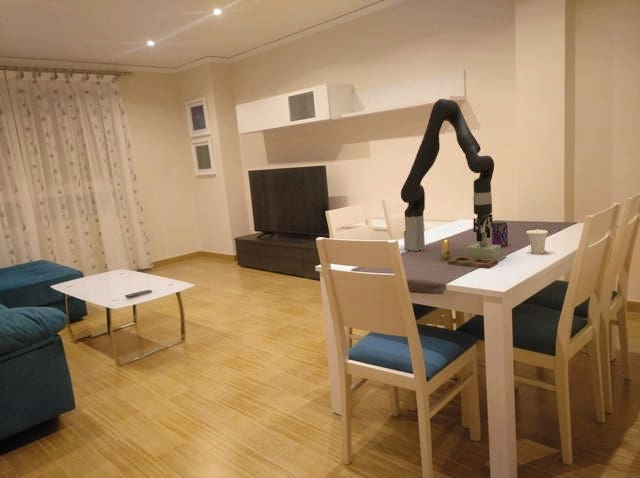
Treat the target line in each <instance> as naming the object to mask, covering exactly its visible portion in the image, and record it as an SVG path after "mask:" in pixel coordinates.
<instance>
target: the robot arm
mask: <svg viewBox="0 0 640 478" xmlns="http://www.w3.org/2000/svg"><path fill="white" fill-rule="evenodd" d="M444 122H448V123H449V124H450V125H451V126H452V127H453V129H454V131H455V135H456V137H455V138H456V142H457V145H459V147H460V149H461V151H462V152H463V153H464V154H463V155H464V156H465V159H466V164H467V166H468V169H469V170H470V171H471V172H472V173H474V174H479V177H477V178H475V179H474V181H473V198H472V199H473V214H474V215H476V216H477V217H476V218H475V217H474V218H473V220H472V222H473V224H472V225H473V230H472V231H473V233H476V242H477V243H480V242H481V241H482V232H483V230H484V232H486V233H487V239H490V238H492V233H491V230H492V227H493V222H494V220H493V199H492V184H491V183H492V179H493V173H494V170H495V162H494V159H493V157H492V156H490V155H479V153H480V151H481V146H480V144H479V142H478V140H477V139H476V138H475V136H474V135H473V132H471V130H470V128H469V126H468V124H467V121H466V120H465V117H464V115H463V112H462V110H461V107H460V105H459V104H458V102H457V101H455V100H453V99H452V100H451V99H445V98H440V99H437V100H436V101H435V103H434V104H433V106H432V108H431V112H430V115H429V118H428V123H427V127H426V129H425V131H424V132H425V133H424V135H423V137H422V140H421V142H420V146H419V147H418V150H417V152H416V155H415V159H414V161H413V163H412V166H411V168H410V171H409V173H408V176H407V177H406V180H405V182H404V184H403V185H402V187H401V190H400V198H401V200H402V201H403V202H404V203H406V204H407V208H406V209H405V210H404V226H405V227H404V228H405V229H404V231H403V241H404V244H403V245H404V246H403V247H404V250H405V249H406V250H405V251H408V250H410V251H409V252H420V251H419V250H421V251H424V250H425V249H426V246H425V245H426V243H425V240H426V239H425V223H424V222H425V220H424V211H425V208H426V207H425V206H426V205H425V204H426V201H425V200H426V192H425V189H424V186H423V185H422V184H421V183H422V180H423V179H424V177H425V176H426V175H427V174H428V173H429V171H430V170H431V168H432V167H433V166H434V164H435V162H436V160H437V157H438V155H439V152H440V132H441V128H442V126H443V123H444Z"/></svg>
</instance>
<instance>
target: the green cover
mask: <svg viewBox="0 0 640 478" xmlns="http://www.w3.org/2000/svg"><path fill="white" fill-rule="evenodd" d="M465 256H466V257H471V258H482V259H493V260H495V259H497V258H499V257H501V256H502V247H501V245H492V244H488V238H487V233H486V232H485V231H482V241H481V242H479V243H472V244H470V245H468V246H465Z"/></svg>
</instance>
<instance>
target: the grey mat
mask: <svg viewBox="0 0 640 478" xmlns="http://www.w3.org/2000/svg"><path fill="white" fill-rule="evenodd" d="M464 257H466V255H465V256H464ZM507 257H508V256H505V255H501V257H499V258H497V259H495V260H498V263H499V262H501V261H503V260H505V259H507Z"/></svg>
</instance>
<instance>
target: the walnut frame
mask: <svg viewBox="0 0 640 478" xmlns="http://www.w3.org/2000/svg"><path fill="white" fill-rule="evenodd" d="M447 263H448V265H451V264H452V265H453V266H460V265H461V266H463V267H469V268H470V267H471V268H480V269H491V268H493V267H495V266H497V265H498V264H499V262H498V260H493V259H482V258H471V257H465V256H459V255H457V256H455V257H453V258H451V260H447Z"/></svg>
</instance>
